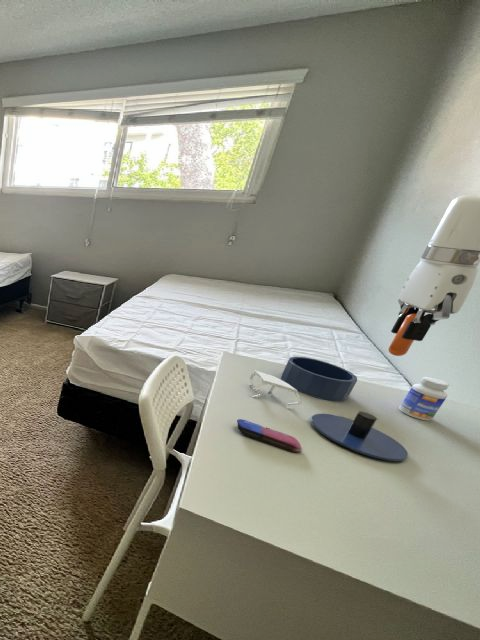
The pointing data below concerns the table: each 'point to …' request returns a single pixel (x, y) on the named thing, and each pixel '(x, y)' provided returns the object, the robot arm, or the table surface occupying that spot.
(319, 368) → the pot
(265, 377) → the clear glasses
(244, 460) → the table surface
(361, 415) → the pot lid
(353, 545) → the table surface
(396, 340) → the carrot
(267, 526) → the table surface
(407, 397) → the pill bottle
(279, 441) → the eraser
